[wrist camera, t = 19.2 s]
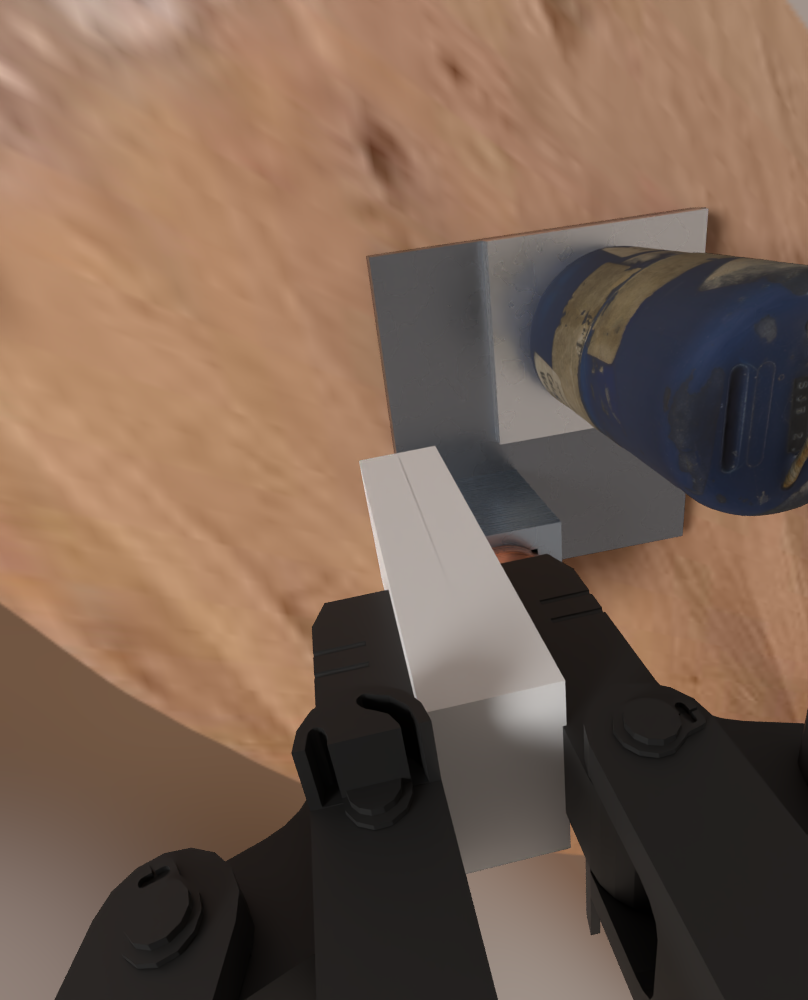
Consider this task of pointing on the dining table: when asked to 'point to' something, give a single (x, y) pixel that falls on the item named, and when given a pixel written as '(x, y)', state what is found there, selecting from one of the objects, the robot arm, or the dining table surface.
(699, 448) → the canister
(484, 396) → the grey l-shaped stand
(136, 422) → the dining table surface
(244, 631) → the dining table surface
